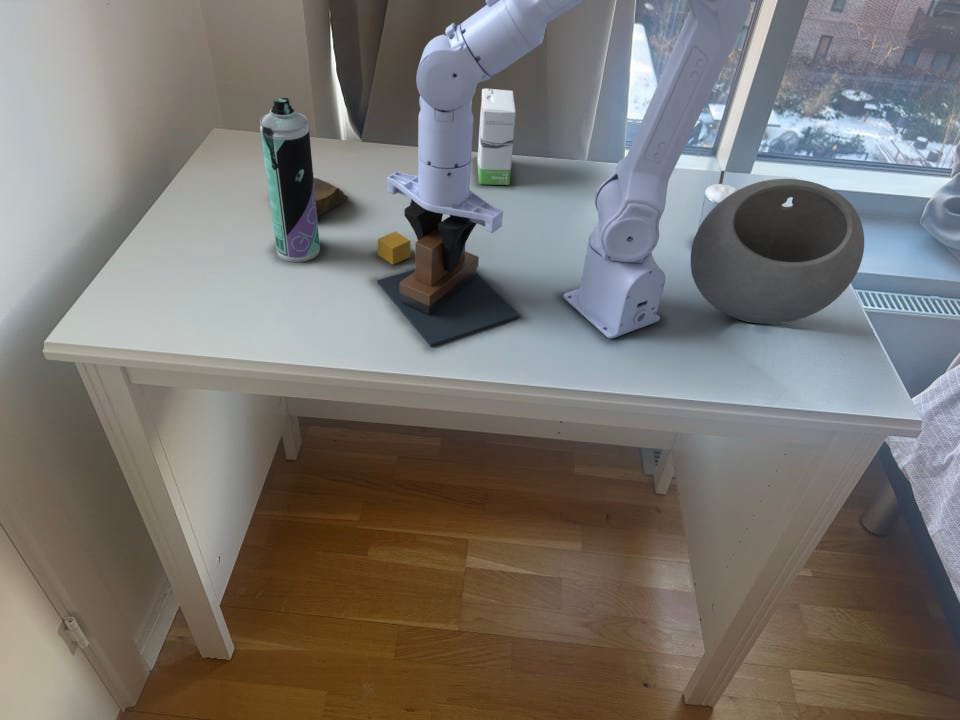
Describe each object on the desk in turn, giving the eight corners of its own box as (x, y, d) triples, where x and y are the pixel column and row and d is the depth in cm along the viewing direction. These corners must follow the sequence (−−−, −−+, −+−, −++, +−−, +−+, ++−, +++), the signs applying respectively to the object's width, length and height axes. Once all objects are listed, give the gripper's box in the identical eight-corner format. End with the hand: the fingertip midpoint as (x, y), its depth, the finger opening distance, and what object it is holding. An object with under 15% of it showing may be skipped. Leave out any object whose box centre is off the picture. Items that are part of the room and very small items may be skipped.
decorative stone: (262, 197, 106) (259, 175, 104) (319, 179, 111) (316, 157, 109) (301, 228, 101) (298, 205, 98) (358, 208, 106) (357, 185, 103)
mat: (519, 317, 89) (519, 314, 88) (430, 347, 83) (430, 344, 83) (460, 259, 97) (460, 256, 97) (377, 282, 92) (377, 280, 92)
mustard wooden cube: (410, 256, 97) (410, 240, 95) (392, 265, 95) (392, 248, 94) (395, 247, 99) (395, 231, 97) (378, 255, 97) (377, 238, 95)
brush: (449, 264, 95) (451, 209, 90) (477, 276, 94) (481, 221, 88) (399, 303, 88) (398, 246, 83) (429, 317, 87) (430, 259, 82)
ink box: (510, 186, 113) (517, 111, 106) (477, 185, 113) (482, 109, 105) (507, 161, 120) (513, 88, 112) (476, 159, 120) (481, 87, 112)
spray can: (310, 265, 94) (295, 112, 81) (270, 258, 95) (247, 105, 82) (326, 243, 98) (313, 94, 85) (286, 236, 99) (268, 87, 86)
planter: (673, 324, 90) (715, 182, 77) (674, 291, 95) (713, 154, 83) (831, 351, 87) (900, 210, 75) (823, 316, 93) (886, 179, 80)
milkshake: (719, 236, 106) (740, 172, 99) (725, 256, 102) (747, 191, 95) (687, 233, 106) (706, 168, 100) (692, 253, 102) (711, 187, 95)
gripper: (521, 163, 79) (510, 269, 88) (412, 126, 85) (412, 229, 94) (486, 188, 75) (478, 296, 84) (373, 146, 80) (377, 253, 89)
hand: (441, 262), depth 88 cm, fingers closed on brush, 2 cm apart
